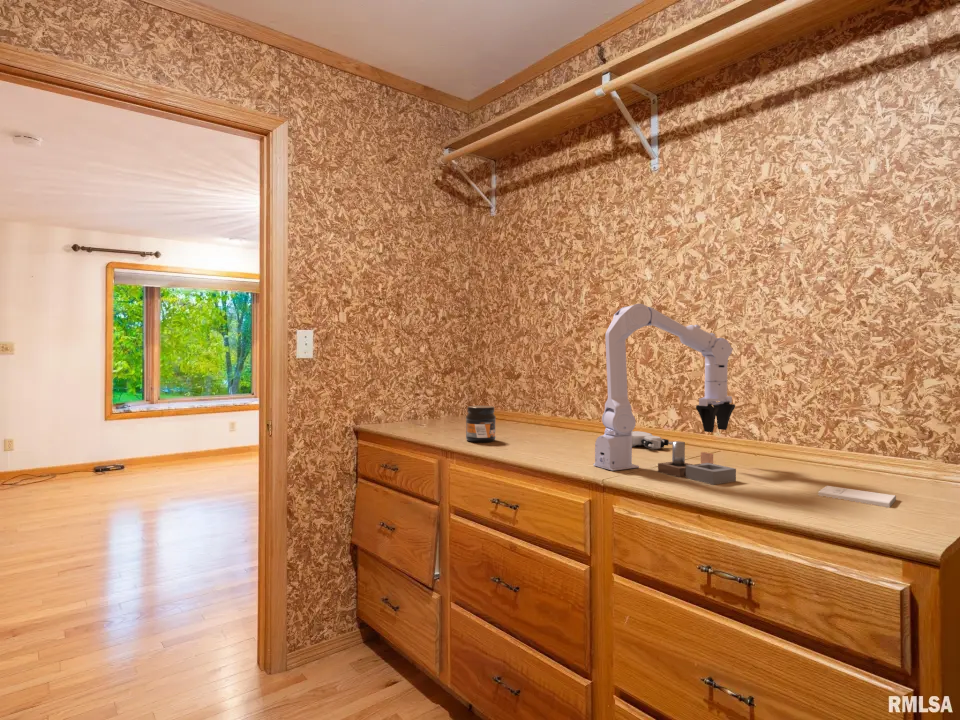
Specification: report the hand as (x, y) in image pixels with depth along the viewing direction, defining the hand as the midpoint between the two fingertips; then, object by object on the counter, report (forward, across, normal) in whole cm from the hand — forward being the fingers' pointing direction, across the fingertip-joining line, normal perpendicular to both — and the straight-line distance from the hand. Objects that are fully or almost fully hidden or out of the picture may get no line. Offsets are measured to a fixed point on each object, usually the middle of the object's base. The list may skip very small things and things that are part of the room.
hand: (715, 430), depth 146 cm
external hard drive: (+10, -9, -35) cm, 38 cm away
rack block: (+10, -17, -8) cm, 21 cm away
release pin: (+9, -9, -1) cm, 13 cm away
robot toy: (+10, +10, +29) cm, 33 cm away
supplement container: (+10, -24, +72) cm, 77 cm away
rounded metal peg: (+10, -17, +1) cm, 20 cm away
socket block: (+10, -17, +1) cm, 20 cm away
